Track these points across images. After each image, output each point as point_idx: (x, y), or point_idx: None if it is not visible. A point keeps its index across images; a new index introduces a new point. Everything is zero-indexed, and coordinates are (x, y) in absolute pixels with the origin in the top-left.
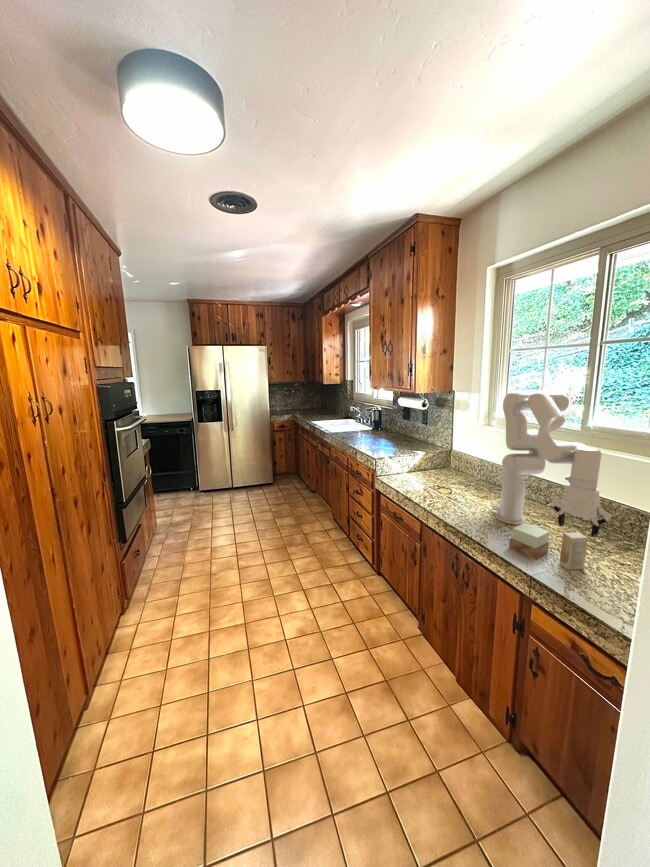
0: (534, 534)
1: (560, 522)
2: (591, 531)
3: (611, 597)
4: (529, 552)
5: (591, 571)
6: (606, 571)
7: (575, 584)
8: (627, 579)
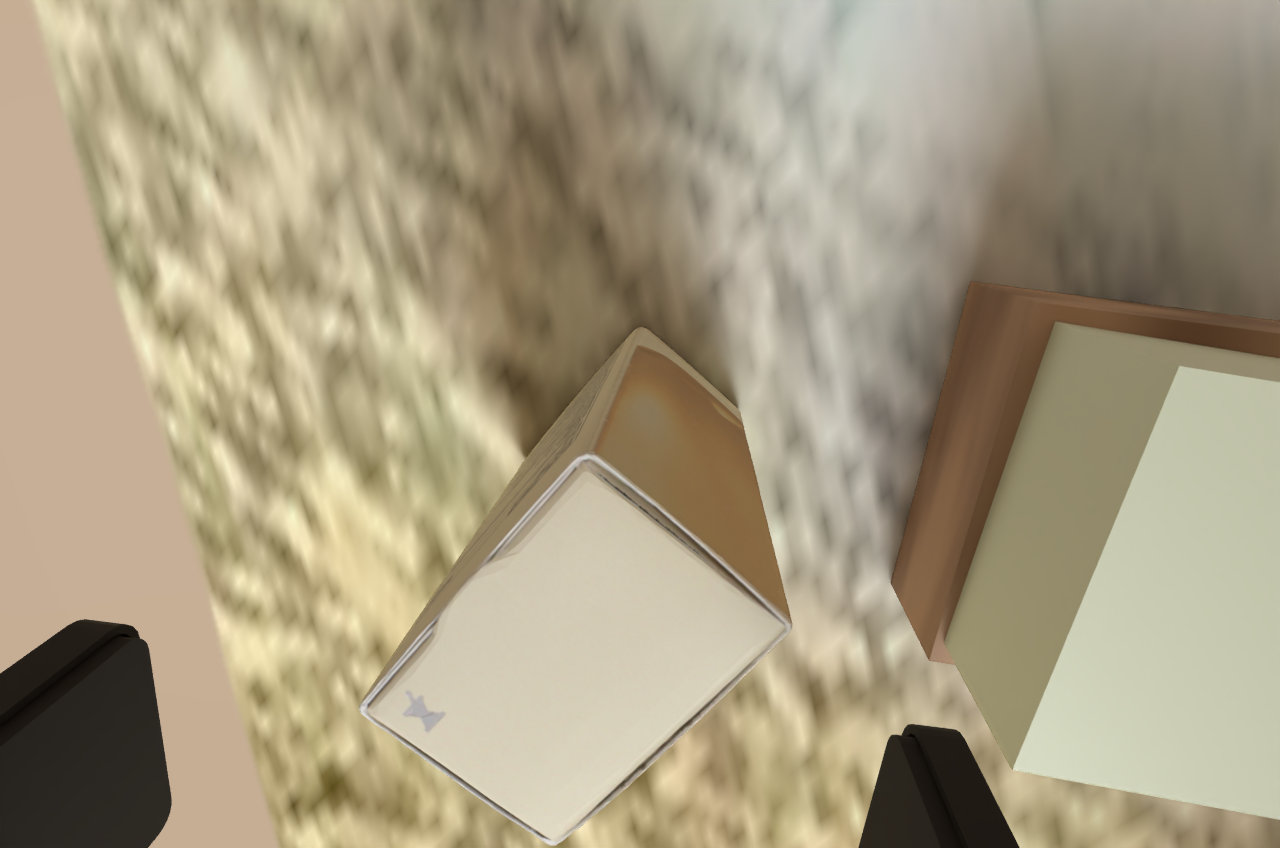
0: (1250, 468)
1: (964, 823)
2: (40, 719)
3: (177, 60)
4: (1092, 302)
5: (462, 472)
6: (373, 572)
7: (491, 34)
8: (218, 552)
